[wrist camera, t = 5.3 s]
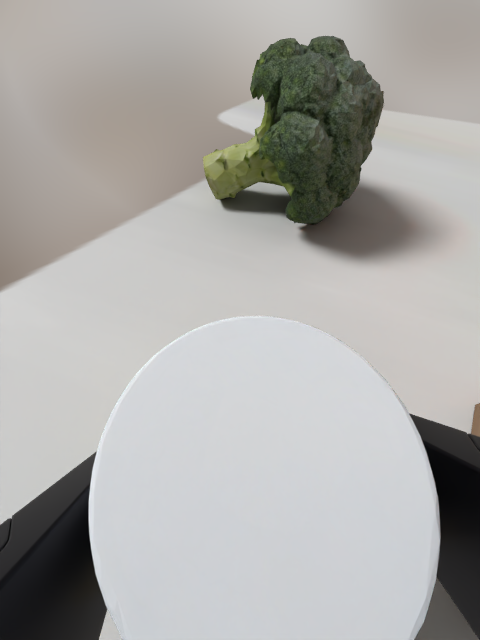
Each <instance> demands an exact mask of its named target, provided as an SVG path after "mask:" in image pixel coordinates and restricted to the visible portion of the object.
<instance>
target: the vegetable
mask: <svg viewBox="0 0 480 640" xmlns="http://www.w3.org/2000/svg"><path fill="white" fill-rule="evenodd" d="M250 90H251V94H252V97H253V99H254V98H255V97H257V98H258V100H259V98H260V97H261V96H262V94H263V97H264V100H265V113H264V117H263V120H262V123H261V126H260V127H258V128H256V129H255V137H254V138H252V139H251V140H250V141H249V142H247V143H244V144H235V145H232V146H230V147H228V148H226V149H224V150H220V151H219V150H217V149H216V150H215V151H214V152H213V153H211V154H209V155H207V156H205V157H203V163H204V170H205V176H206V179H207V181H208V184H209V187H210V188H211V190H212V192H213V194H214V196H215V198H216V199H219V200H221V199H224V198H227V197H232V198H235V196H236V194H237V192H239V191H241V190H243V189H245V188H247V187H249V186H251V185H253V184H255V183H257V182H263V183H270V184H276V185H280V186H284V187H285V189H286V190H287V192H288V194H289V195H290V197H291V198H292V200H291V201H290V202H289V203H288V205H287V207H286V210H285V211H286V216H287V218H288V219H290V220H291V221H294V223H296V222H298V223H305V224H306V223H308V224H316V223H318V222H319V221H322V220H323V219H324V218H325V217H327V216H328V215H329V213H330V212H331V211H332V209H333V208H336V207H338V206H341V205H342V202H343V201H345V200H346V199H348V198H349V197H350V196H351V194H352V193H353V192H354V190H355V189H356V187H357V186H358V184H359V181H360V171H361V165H362V164H363V163H364V162H365V160H366V159H367V157H368V155H369V154H370V152H371V150H372V144H371V141H372V139H373V137H374V134H375V129H376V127H377V126H378V123H379V119H380V115H381V112H382V108H383V103H384V99H383V91H380V85H379V84H378V83H377V82H376V81H375V80H374V79H372V76H371V75H370V74H369V73H368V72H367V70H366V68H365V64H364V63H363V62H361V61H354V60H352V59H351V58H350V56H349V51H348V50H347V47H346V45H345V43H344V41H343V40H341V39H339V38H336V37H334V36H331V37H330V36H321V37H317V38H314V39H312V40H311V42H310V44H309V46H305V45H302V44H301V45H300V44H299V43H298V42H297V41H296V39H294V38H288V39H282V40H279V41H277V42H276V43H274V44H271V45H270V46H269V48H268V49H267V50H266V51H265V52H263V53H262V54H260V59H259V60H257V62H256V65H255V69H254V73H253V76H252V83H251V87H250Z"/></svg>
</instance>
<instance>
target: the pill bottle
mask: <svg viewBox="0 0 480 640" xmlns="http://www.w3.org/2000/svg"><path fill="white" fill-rule="evenodd" d="M89 536H90V543H91V551H92V557H93V563H94V568H95V574H96V577H97V580H98V583H99V587H100V590H101V593H102V596H103V599H104V602H105V605H106V607H107V609H108V611H109V613H110V615H111V617H112V619H113V621H114V623H115V625H116V627H117V629H118V631H119V633H120V635H121V637H122V640H415V638H416V636H417V634H418V632H419V631H420V629H421V627H422V625H423V623H424V620H425V617H426V614H427V611H428V608H429V604H430V600H431V597H432V593H433V589H434V585H435V582H436V576H437V569H438V562H439V553H440V539H441V533H440V515H439V502H438V495H437V492H436V484H435V480H434V477H433V473H432V470H431V466H430V463H429V459H428V456H427V452H426V450H425V447H424V444H423V442H422V439H421V436H420V434H419V432H418V430H417V428H416V426H415V424H414V422H413V420H412V418H411V416H410V414H409V412H408V410H407V409H406V407H405V406H404V404H403V403H402V401H401V400H400V398H399V397H398V396H397V394H396V393H395V392H394V390H393V389H392V388H391V386H390V385H389V384H388V382H387V381H386V380H385V379H384V378H383V377H382V376H381V375H380V374H379V372H378V371H377V370H376V369H375V368H374V367H373V366H372V365H371V364H370V363H369V362H368V361H367V360H366V359H365V358H363V357H362V356H361V355H360V354H358V353H357V352H356V351H354V350H353V349H352V348H351V347H349V346H348V345H346V344H345V343H343V342H342V341H340V340H338V339H337V338H335V337H333V336H332V335H330V334H328V333H325V332H323V331H321V330H319V329H317V328H315V327H312V326H310V325H307V324H304V323H301V322H297V321H294V320H290V319H284V318H278V317H269V316H241V317H234V318H228V319H223V320H219V321H215V322H212V323H209V324H206V325H203V326H201V327H198V328H196V329H194V330H192V331H189V332H188V333H186V334H184V335H182V336H180V337H179V338H177V339H176V340H174V341H172V342H171V343H169V344H168V345H167V346H166V347H164V348H163V349H162V350H160V351H159V352H158V353H157V354H155V355H154V356H153V357H152V358H151V359H150V360H149V361H148V362H147V363H146V364H145V365H144V366H143V367H142V368H141V369H140V370H139V371H138V373H137V374H136V375H135V377H134V378H133V379H132V380H131V382H130V383H129V384H128V386H127V387H126V388H125V390H124V392H123V393H122V395H121V396H120V398H119V400H118V401H117V403H116V405H115V407H114V409H113V411H112V413H111V415H110V417H109V419H108V421H107V424H106V426H105V429H104V431H103V434H102V437H101V439H100V442H99V446H98V449H97V453H96V456H95V461H94V465H93V470H92V477H91V484H90V494H89Z"/></svg>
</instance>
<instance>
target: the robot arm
mask: <svg viewBox="0 0 480 640" xmlns="http://www.w3.org/2000/svg"><path fill="white" fill-rule="evenodd" d="M410 416H411V418H412V420H413V422H414V424H415V426H416V428H417V430H418V432H419V434H420V436H421V439H422V442H423V444H424V447H425V450H426V452H427V456H428V459H429V463H430V466H431V470H432V473H433V477H434V480H435V484H436V492H437V495H438V502H439V515H440V533H441V539H440V553H439V562H438V569H437V578H438V579H439V581H440V582H441V584H442V585H443V587H444V588H445V590H446V591H447V593H448V594H449V596H450V597H451V599H452V600H453V602H454V603H455V604H456V606H457V607H458V609H459V610H460V612H461V613H462V615H463V616H464V618H465V619H466V621H467V622H468V624H469V625H470V627H471V628H472V630H473V631H474V633H475V634H476V635H477V637H478V638H479V640H480V437H479V436H476V435H473V434H467V433H466V432H464V431H461V430H458V429H454V428H451V427H448V426H445V425H442V424H439V423H436V422H433V421H430V420H427V419H424V418H421V417H418V416H415V415H412V414H410ZM96 453H97V452H95V453H94V454H93V455H91V456H90V457H89V458H87V459H86V460H85V461H84V462H82V463H81V464H80V465H78V466H77V467H76V468H74V469H73V470H72V471H70V472H69V473H68V474H66V475H65V476H64V477H63V478H61V479H60V480H59V481H57V482H56V483H55V484H53V485H52V486H51V487H49V488H48V489H47V490H46V491H44V492H43V493H42V494H40V495H39V496H38V497H36V498H35V499H34V500H32V501H31V502H30V503H29V504H27V505H26V506H25V507H23V508H22V509H21V510H19V511H18V512H17V513H15V514H14V515H13V516H12V519H11V518H9V519H7V520H6V521H5V522H4V523H2V524H1V525H0V640H99V637H100V633H101V629H102V626H103V622H104V619H105V615H106V612H107V607H106V605H105V602H104V599H103V596H102V593H101V590H100V587H99V583H98V580H97V577H96V574H95V568H94V563H93V557H92V551H91V543H90V536H89V494H90V484H91V477H92V470H93V465H94V461H95V456H96Z"/></svg>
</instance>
